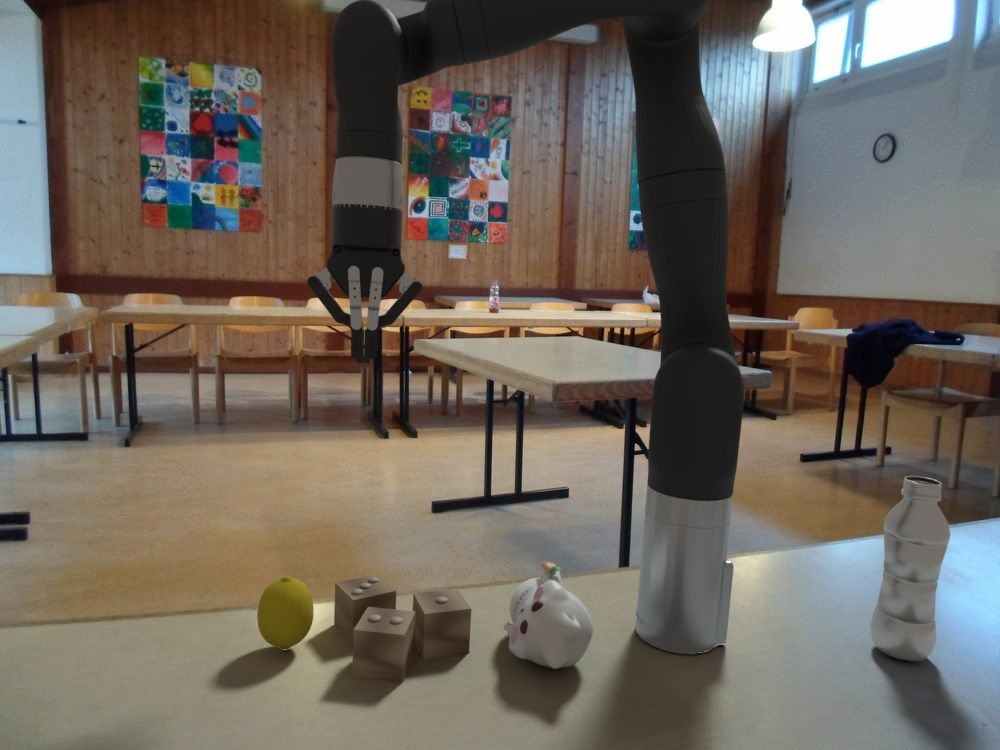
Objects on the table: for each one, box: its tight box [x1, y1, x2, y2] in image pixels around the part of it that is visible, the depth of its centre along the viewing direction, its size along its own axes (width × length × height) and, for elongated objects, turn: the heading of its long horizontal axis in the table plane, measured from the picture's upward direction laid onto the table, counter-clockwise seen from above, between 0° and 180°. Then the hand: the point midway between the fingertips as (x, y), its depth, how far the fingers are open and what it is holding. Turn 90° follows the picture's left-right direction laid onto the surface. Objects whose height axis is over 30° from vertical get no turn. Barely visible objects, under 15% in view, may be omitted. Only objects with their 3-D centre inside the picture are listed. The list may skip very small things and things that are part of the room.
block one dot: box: [412, 588, 472, 660], centre depth 77 cm, size 5×5×5 cm
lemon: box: [256, 575, 314, 650], centre depth 74 cm, size 6×6×8 cm
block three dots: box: [333, 573, 397, 645], centre depth 80 cm, size 5×5×5 cm
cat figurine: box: [503, 561, 594, 670], centre depth 76 cm, size 10×8×15 cm
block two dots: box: [351, 607, 416, 684], centre depth 72 cm, size 5×5×5 cm
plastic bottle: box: [869, 475, 951, 662], centre depth 80 cm, size 6×7×20 cm
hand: (363, 362), depth 81 cm, fingers closed
